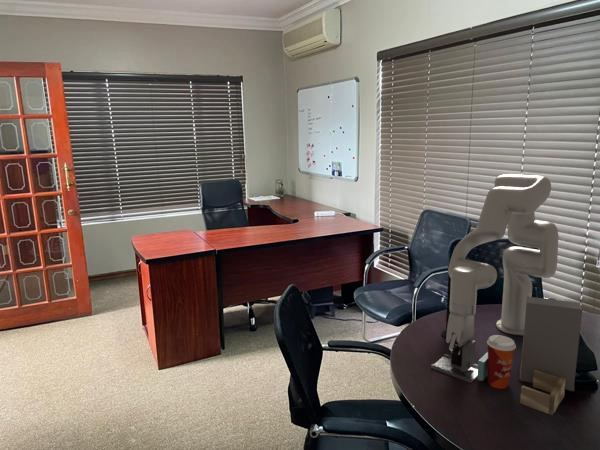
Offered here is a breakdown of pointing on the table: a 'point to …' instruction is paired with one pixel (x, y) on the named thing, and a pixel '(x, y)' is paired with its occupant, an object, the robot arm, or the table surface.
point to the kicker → (472, 360)
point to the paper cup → (500, 360)
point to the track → (454, 369)
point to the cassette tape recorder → (551, 339)
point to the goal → (541, 399)
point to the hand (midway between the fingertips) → (459, 361)
